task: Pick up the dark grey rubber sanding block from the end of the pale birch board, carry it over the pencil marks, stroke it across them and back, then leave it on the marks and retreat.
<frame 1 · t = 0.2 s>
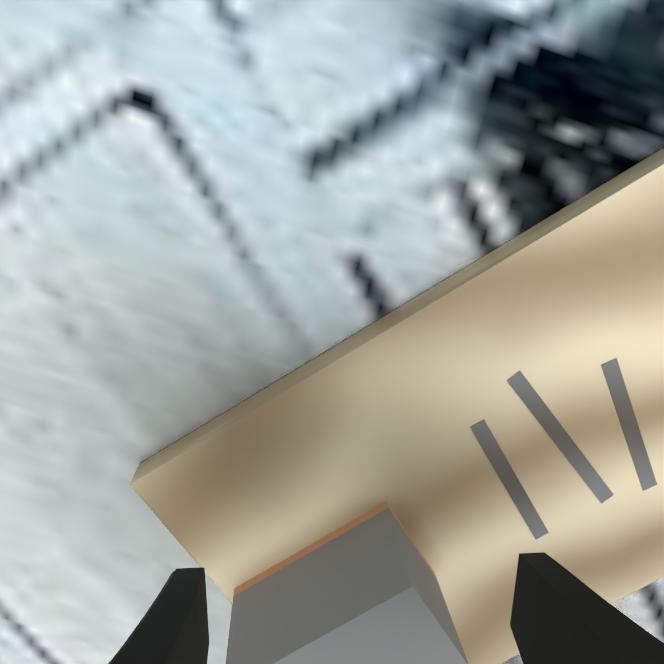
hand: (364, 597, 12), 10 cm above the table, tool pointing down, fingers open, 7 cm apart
board: (517, 449, 23), on the table
sanding block: (335, 580, 22), point 1 cm above the table, touching board
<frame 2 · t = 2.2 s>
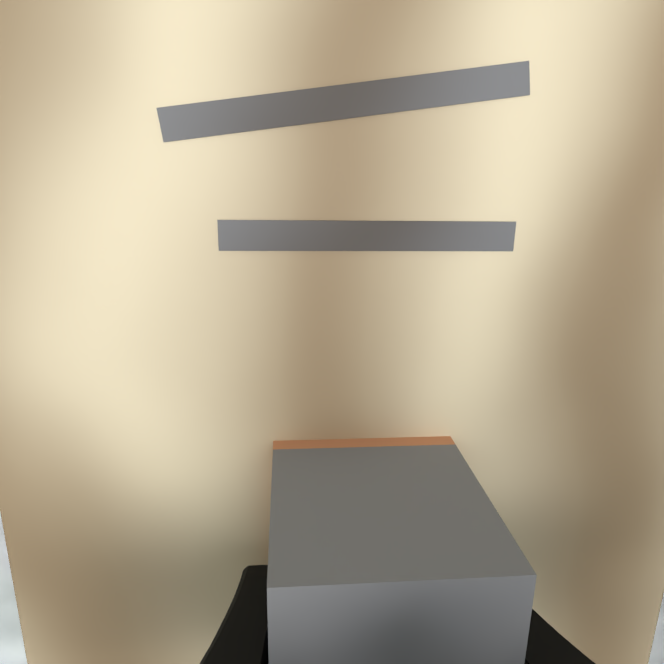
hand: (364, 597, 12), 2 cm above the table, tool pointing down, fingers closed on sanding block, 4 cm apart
board: (360, 182, 12), on the table
sanding block: (358, 569, 13), point 1 cm above the table, touching board, gripper
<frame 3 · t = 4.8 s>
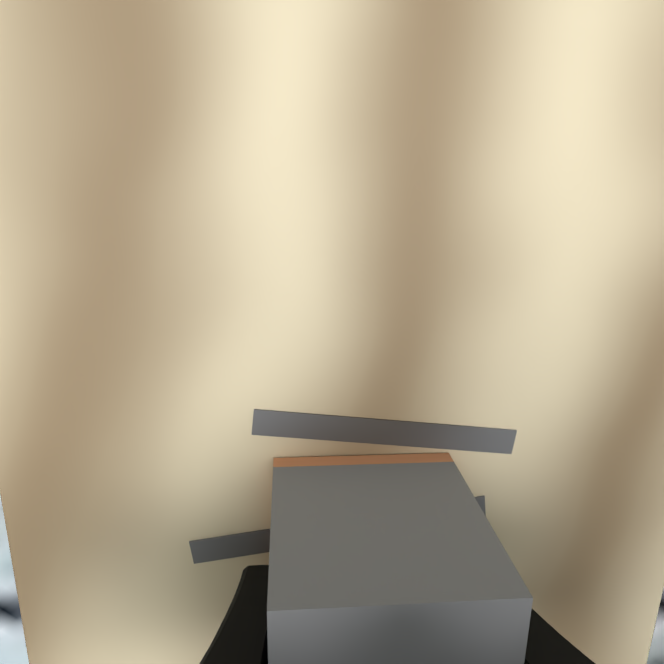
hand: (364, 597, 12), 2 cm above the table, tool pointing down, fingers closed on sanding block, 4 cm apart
board: (351, 541, 15), on the table
sanding block: (358, 584, 13), point 2 cm above the table, touching gripper
when the fingers open (2 cm above the table, at t = 7.6 s): sanding block stays where it is, resting on board.
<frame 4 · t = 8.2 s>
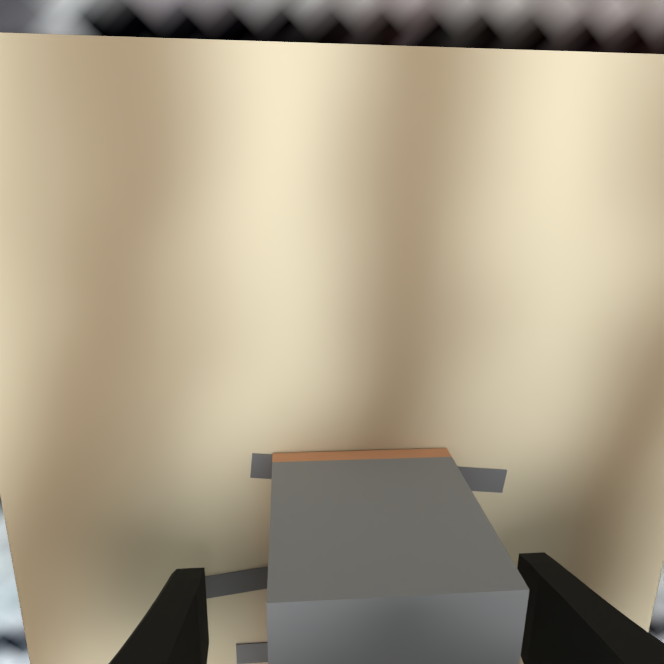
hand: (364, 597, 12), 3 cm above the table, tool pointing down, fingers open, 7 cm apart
board: (348, 572, 15), on the table
sanding block: (356, 578, 14), point 2 cm above the table, touching board
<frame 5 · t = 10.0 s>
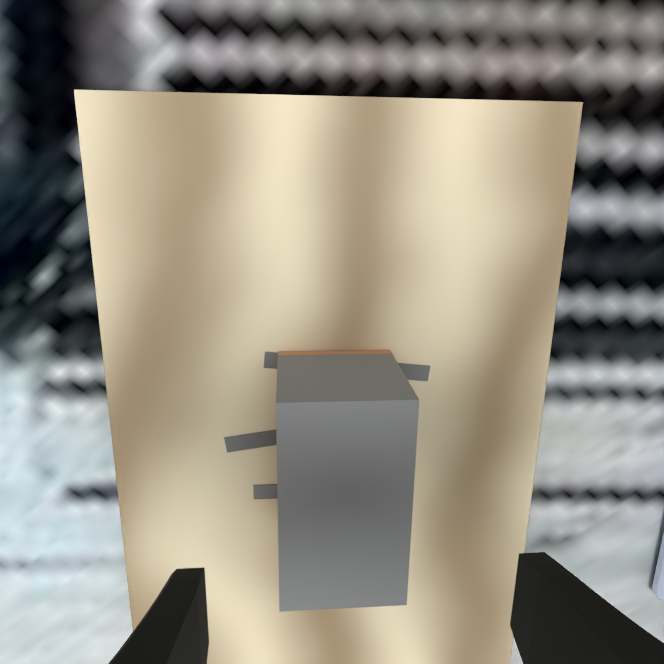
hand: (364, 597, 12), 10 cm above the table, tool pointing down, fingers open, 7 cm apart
board: (329, 447, 22), on the table
sanding block: (333, 439, 21), point 2 cm above the table, touching board
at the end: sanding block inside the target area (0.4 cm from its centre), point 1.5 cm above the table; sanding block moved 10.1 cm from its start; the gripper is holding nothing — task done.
